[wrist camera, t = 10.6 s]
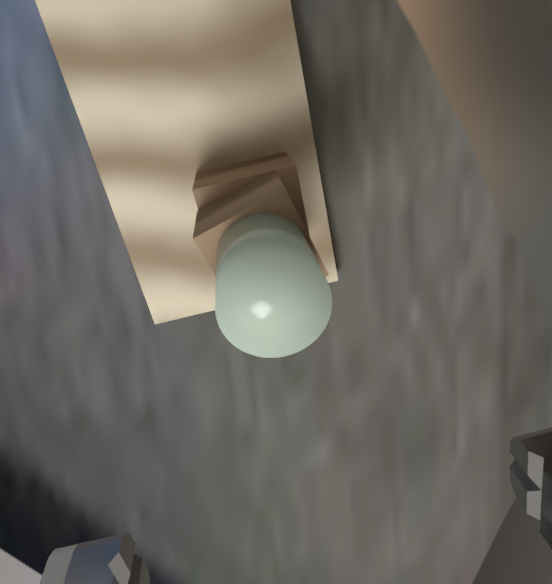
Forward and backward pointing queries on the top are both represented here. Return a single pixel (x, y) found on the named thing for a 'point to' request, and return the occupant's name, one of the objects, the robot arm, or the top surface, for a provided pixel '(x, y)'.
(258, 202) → the top block
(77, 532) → the top surface
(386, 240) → the top surface
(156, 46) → the board
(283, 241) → the canister
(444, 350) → the top surface
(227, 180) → the base block
